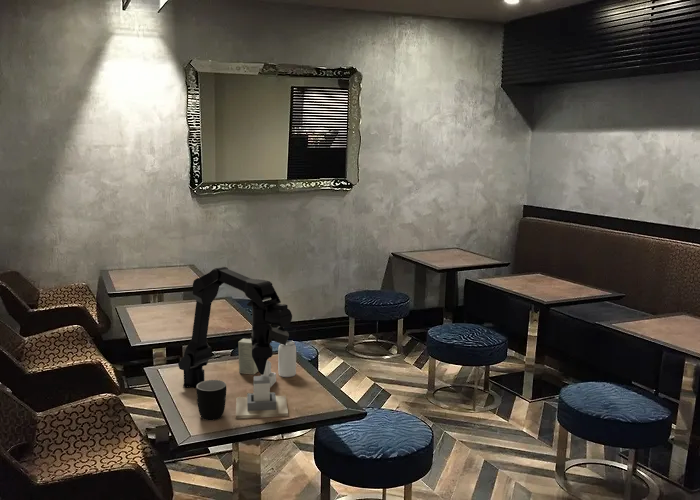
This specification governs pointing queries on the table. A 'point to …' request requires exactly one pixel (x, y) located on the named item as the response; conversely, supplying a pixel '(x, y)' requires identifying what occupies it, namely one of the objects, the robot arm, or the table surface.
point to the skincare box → (246, 357)
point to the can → (287, 359)
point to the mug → (211, 399)
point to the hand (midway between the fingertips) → (261, 369)
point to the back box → (261, 403)
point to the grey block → (261, 388)
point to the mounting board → (243, 413)
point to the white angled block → (269, 373)
